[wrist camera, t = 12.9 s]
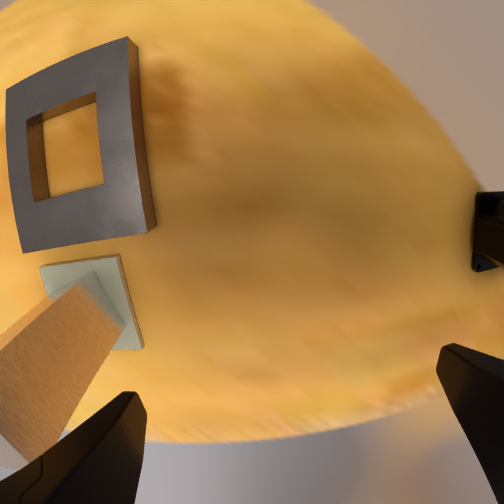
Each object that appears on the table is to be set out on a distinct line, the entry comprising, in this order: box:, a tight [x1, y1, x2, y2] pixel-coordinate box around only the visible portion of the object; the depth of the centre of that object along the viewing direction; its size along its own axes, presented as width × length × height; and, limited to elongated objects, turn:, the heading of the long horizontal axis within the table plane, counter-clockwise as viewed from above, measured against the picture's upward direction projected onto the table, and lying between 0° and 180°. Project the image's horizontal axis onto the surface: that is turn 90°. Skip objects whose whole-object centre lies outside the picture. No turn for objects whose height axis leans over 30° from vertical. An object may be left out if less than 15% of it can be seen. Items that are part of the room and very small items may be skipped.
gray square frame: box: [6, 36, 157, 254], centre depth 15 cm, size 10×12×2 cm
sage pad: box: [39, 255, 144, 350], centre depth 19 cm, size 7×7×1 cm
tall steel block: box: [0, 270, 126, 470], centre depth 13 cm, size 4×4×13 cm
